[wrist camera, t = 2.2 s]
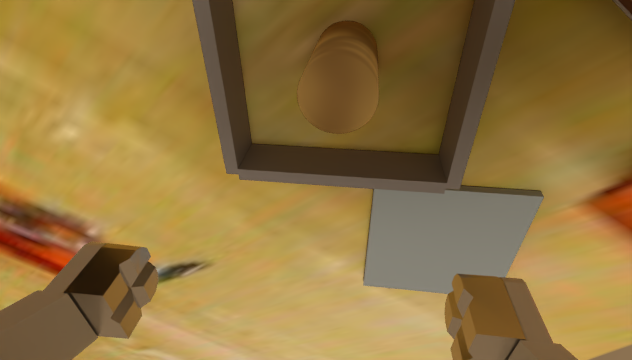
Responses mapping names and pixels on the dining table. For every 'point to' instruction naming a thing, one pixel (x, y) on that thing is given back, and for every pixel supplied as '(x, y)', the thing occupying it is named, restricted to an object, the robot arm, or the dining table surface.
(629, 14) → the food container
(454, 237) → the mat
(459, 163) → the frame
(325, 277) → the dining table surface
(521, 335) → the robot arm
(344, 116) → the peg
